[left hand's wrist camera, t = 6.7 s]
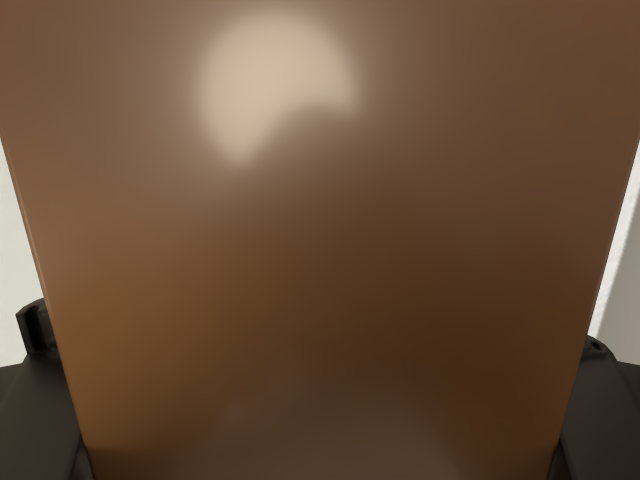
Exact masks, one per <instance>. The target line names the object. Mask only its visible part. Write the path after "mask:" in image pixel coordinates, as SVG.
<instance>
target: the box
mask: <svg viewBox="0 0 640 480" xmlns="http://www.w3.org/2000/svg"><path fill="white" fill-rule="evenodd" d="M0 138H1V142H2V145H3V149H4V153H5V156H6V160H7V164H8V167H9V171H10V175H11V178H12V182H13V186H14V189H15V193H16V197H17V200H18V204H19V208H20V211H21V215H22V219H23V222H24V226H25V230H26V233H27V237H28V241H29V244H30V248H31V252H32V255H33V259H34V263H35V266H36V270H37V274H38V277H39V281H40V285H41V288H42V292H43V296H44V299H45V303H46V307H47V310H48V314H49V318H50V321H51V325H52V329H53V332H54V336H55V340H56V343H57V347H58V351H59V354H60V358H61V362H62V365H63V369H64V373H65V376H66V380H67V384H68V387H69V391H70V395H71V398H72V402H73V406H74V409H75V413H76V417H77V420H78V424H79V428H80V431H81V435H82V439H83V442H84V446H85V450H86V453H87V457H88V461H89V464H90V468H91V472H92V475H93V479H94V480H548V478H549V475H550V471H551V467H552V463H553V460H554V456H555V452H556V449H557V445H558V441H559V437H560V434H561V430H562V426H563V422H564V419H565V415H566V411H567V408H568V404H569V400H570V396H571V393H572V389H573V385H574V382H575V378H576V374H577V370H578V367H579V363H580V359H581V356H582V352H583V348H584V344H585V341H586V337H587V333H588V330H589V326H590V322H591V318H592V315H593V311H594V307H595V304H596V300H597V296H598V292H599V289H600V285H601V281H602V278H603V274H604V270H605V266H606V263H607V259H608V255H609V252H610V248H611V244H612V240H613V237H614V233H615V229H616V226H617V222H618V218H619V214H620V211H621V207H622V203H623V200H624V196H625V192H626V188H627V185H628V181H629V177H630V174H631V170H632V166H633V162H634V159H635V155H636V151H637V148H638V144H639V140H640V0H0Z"/></svg>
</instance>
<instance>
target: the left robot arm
mask: <svg viewBox="0 0 640 480" xmlns="http://www.w3.org/2000/svg"><path fill="white" fill-rule="evenodd" d="M15 315H16V318H17V322H18V325H19V328H20V332H21V335H22V338H23V341H24V345H25V348H26V351H27V355H26V357H25V359H24V361H23V363H20V364H16V365H10V366H5V367H0V480H94V479H93V475H92V472H91V468H90V464H89V461H88V457H87V453H86V450H85V446H84V442H83V439H82V435H81V431H80V428H79V424H78V420H77V417H76V413H75V409H74V406H73V402H72V398H71V395H70V391H69V387H68V384H67V380H66V376H65V373H64V369H63V365H62V362H61V358H60V354H59V351H58V347H57V343H56V340H55V336H54V332H53V329H52V325H51V321H50V318H49V314H48V310H47V307H46V303H45V299H44V298H41V299H38V300H36V301H34V302H32V303H30V304H28V305H26V306H25V307H23V308H22V309H21V310H20V311H19V312H18V313H16V314H15ZM548 480H640V365H635V364H629V363H624V362H619V361H617V360H616V358H615V356H614V355H613V353H612V352H611V351H610V350H609V349H608V347H607V346H606V345H604V344H603V343H601V342H600V341H598V340H597V339H595V338H594V337H591V336H589V335H587V337H586V341H585V344H584V348H583V352H582V356H581V359H580V363H579V367H578V370H577V374H576V378H575V382H574V385H573V389H572V393H571V396H570V400H569V404H568V408H567V411H566V415H565V419H564V422H563V426H562V430H561V434H560V437H559V441H558V445H557V449H556V452H555V456H554V460H553V463H552V467H551V471H550V475H549V478H548Z"/></svg>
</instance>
